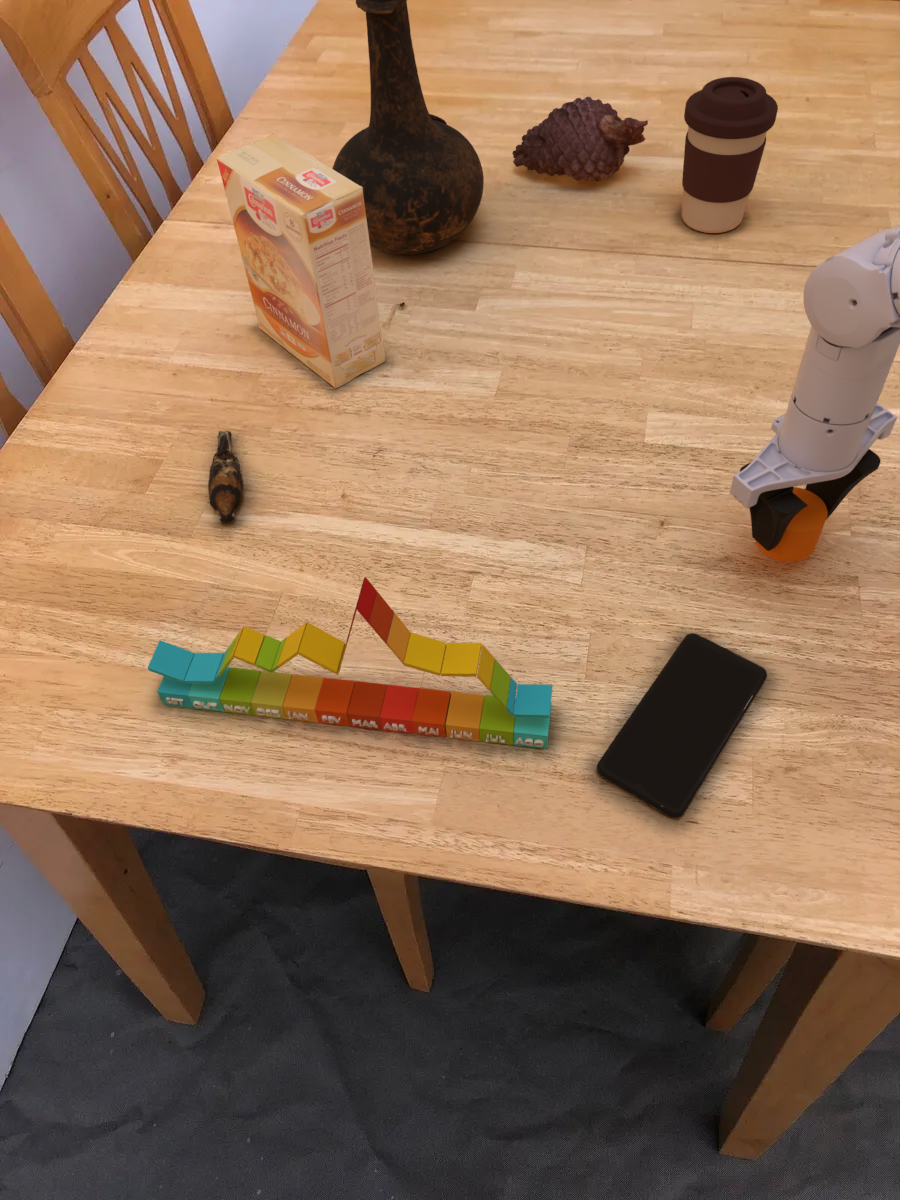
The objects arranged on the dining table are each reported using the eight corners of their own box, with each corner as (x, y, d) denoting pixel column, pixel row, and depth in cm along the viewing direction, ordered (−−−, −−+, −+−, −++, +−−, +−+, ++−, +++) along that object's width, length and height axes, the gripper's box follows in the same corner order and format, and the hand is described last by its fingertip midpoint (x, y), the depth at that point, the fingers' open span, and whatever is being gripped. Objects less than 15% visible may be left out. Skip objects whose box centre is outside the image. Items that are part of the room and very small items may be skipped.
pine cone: (508, 196, 118) (497, 110, 115) (529, 198, 127) (519, 118, 124) (648, 167, 111) (639, 75, 108) (659, 171, 120) (652, 86, 117)
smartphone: (771, 669, 71) (679, 819, 64) (768, 675, 72) (677, 824, 65) (689, 628, 74) (593, 767, 67) (687, 634, 74) (592, 773, 67)
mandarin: (828, 543, 77) (842, 508, 74) (786, 571, 76) (799, 537, 72) (782, 509, 80) (794, 474, 77) (741, 536, 78) (751, 500, 75)
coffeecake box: (257, 328, 104) (212, 156, 88) (309, 302, 106) (275, 130, 91) (334, 391, 96) (300, 214, 81) (388, 361, 99) (365, 184, 83)
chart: (163, 707, 73) (95, 589, 61) (176, 674, 75) (114, 552, 63) (546, 752, 69) (553, 633, 57) (550, 715, 71) (558, 593, 59)
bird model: (208, 536, 84) (200, 516, 82) (216, 438, 93) (209, 418, 91) (243, 532, 84) (236, 512, 82) (247, 434, 93) (241, 414, 91)
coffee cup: (663, 235, 111) (681, 106, 99) (676, 194, 116) (694, 66, 105) (748, 245, 108) (777, 113, 97) (757, 202, 114) (785, 73, 102)
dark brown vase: (506, 211, 116) (504, -49, 94) (446, 288, 106) (429, 18, 84) (381, 187, 121) (352, -64, 99) (313, 259, 112) (264, -2, 90)
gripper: (866, 335, 70) (819, 466, 81) (716, 405, 66) (688, 533, 77) (940, 385, 66) (881, 515, 77) (786, 462, 62) (746, 589, 73)
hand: (789, 528), depth 77 cm, fingers closed on mandarin, 5 cm apart
